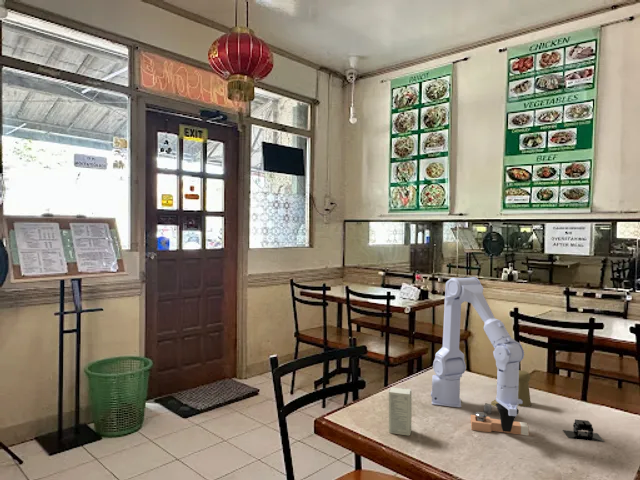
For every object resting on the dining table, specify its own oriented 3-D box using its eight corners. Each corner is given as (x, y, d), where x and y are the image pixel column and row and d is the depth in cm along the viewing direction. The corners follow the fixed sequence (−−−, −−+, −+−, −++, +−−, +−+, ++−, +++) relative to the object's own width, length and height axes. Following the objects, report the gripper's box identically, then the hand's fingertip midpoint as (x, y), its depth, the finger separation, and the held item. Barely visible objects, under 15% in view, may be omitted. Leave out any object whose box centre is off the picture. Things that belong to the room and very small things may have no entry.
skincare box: (411, 430, 130) (412, 389, 130) (409, 436, 126) (410, 394, 126) (390, 426, 132) (391, 386, 132) (387, 433, 128) (388, 391, 128)
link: (471, 429, 131) (471, 421, 131) (470, 422, 136) (470, 414, 136) (529, 437, 127) (529, 428, 127) (526, 429, 132) (526, 421, 132)
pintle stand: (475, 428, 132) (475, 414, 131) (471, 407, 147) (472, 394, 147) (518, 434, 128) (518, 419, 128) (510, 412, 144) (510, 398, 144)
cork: (527, 400, 155) (527, 368, 154) (533, 407, 149) (534, 374, 148) (509, 399, 155) (509, 368, 155) (514, 406, 149) (515, 373, 149)
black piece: (563, 441, 126) (563, 425, 126) (555, 429, 133) (555, 414, 133) (612, 446, 124) (612, 429, 123) (601, 434, 131) (601, 418, 131)
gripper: (529, 394, 120) (527, 444, 121) (516, 377, 134) (515, 421, 135) (501, 392, 122) (500, 441, 122) (491, 375, 136) (490, 419, 136)
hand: (506, 430), depth 128 cm, fingers closed
